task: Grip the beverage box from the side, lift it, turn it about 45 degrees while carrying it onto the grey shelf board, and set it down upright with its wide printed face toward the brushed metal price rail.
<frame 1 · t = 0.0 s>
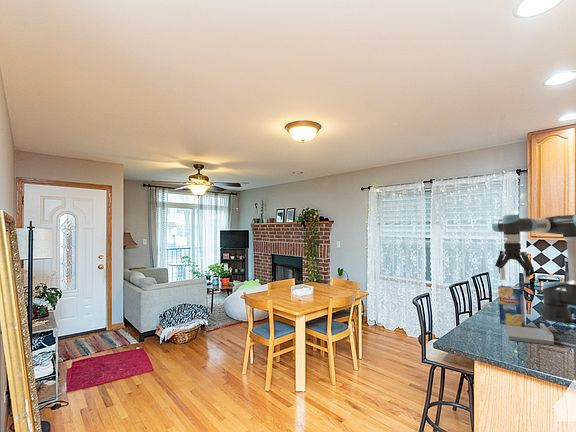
hand: (514, 281, 174), 28 cm above the worktop, tool pointing down, fingers open, 13 cm apart
shelf board: (527, 336, 167), on the worktop
price rail: (546, 331, 164), on the shelf board, point 4 cm above the worktop
beverage box: (512, 324, 189), on the worktop
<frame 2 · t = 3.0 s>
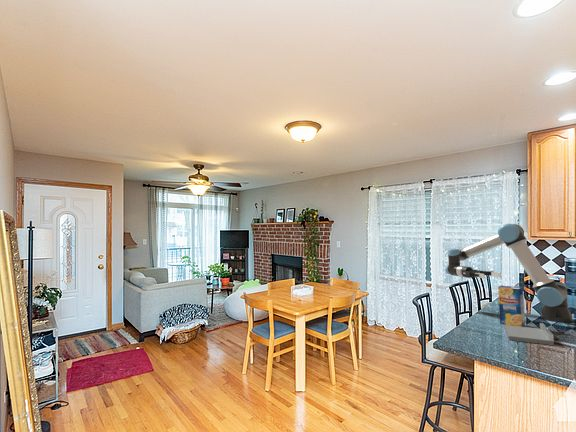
hand: (492, 275, 202), 28 cm above the worktop, tool horizontal, fingers open, 13 cm apart
nothing on the worktop moved.
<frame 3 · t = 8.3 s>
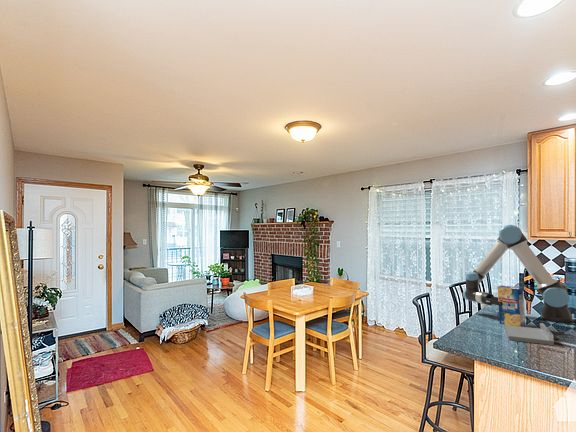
hand: (520, 305, 184), 12 cm above the worktop, tool horizontal, fingers closed on beverage box, 4 cm apart
beverage box: (512, 324, 189), on the worktop, touching gripper
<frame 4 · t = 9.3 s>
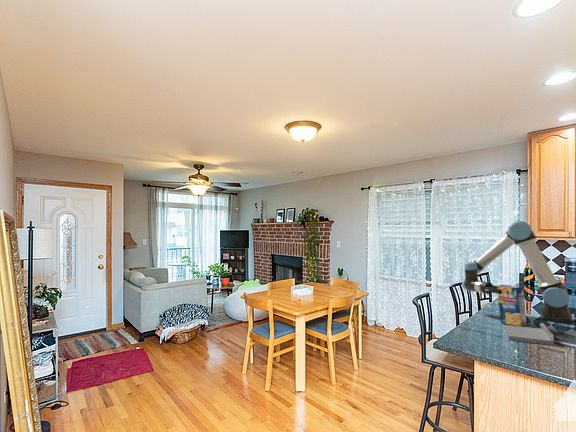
hand: (518, 293, 185), 19 cm above the worktop, tool horizontal, fingers closed on beverage box, 4 cm apart
beverage box: (513, 324, 188), on the worktop, touching gripper
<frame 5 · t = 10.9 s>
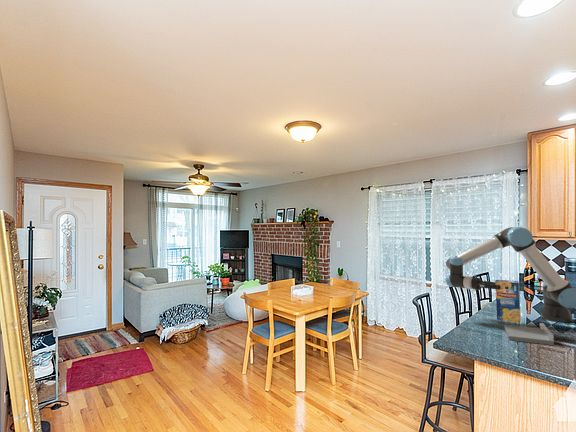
hand: (517, 288, 179), 23 cm above the worktop, tool horizontal, fingers closed on beverage box, 4 cm apart
beverage box: (508, 320, 182), point 5 cm above the worktop, touching gripper
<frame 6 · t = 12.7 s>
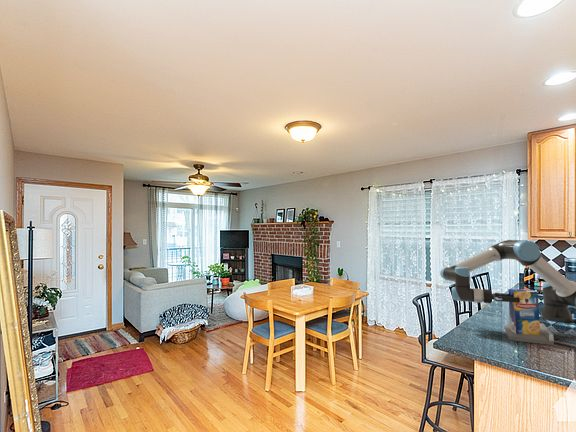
hand: (534, 299, 166), 19 cm above the worktop, tool horizontal, fingers open, 4 cm apart
beverage box: (525, 332, 167), point 2 cm above the worktop, touching shelf board
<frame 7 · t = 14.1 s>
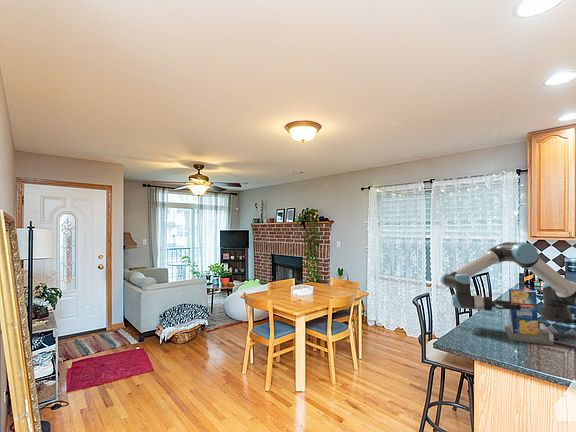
hand: (535, 307, 166), 16 cm above the worktop, tool horizontal, fingers open, 2 cm apart
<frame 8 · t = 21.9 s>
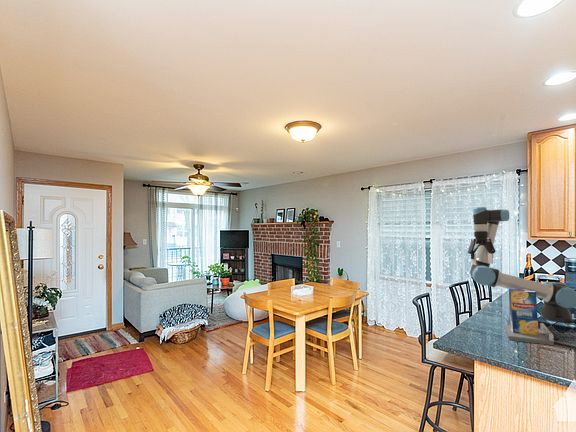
hand: (482, 264, 204), 35 cm above the worktop, tool pointing down, fingers open, 13 cm apart
nothing on the worktop moved.
at the end: beverage box inside the target area on the shelf board (0.3 cm from its centre), point 1.8 cm above the shelf board's base; beverage box tilted 0°; the gripper is holding nothing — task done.
